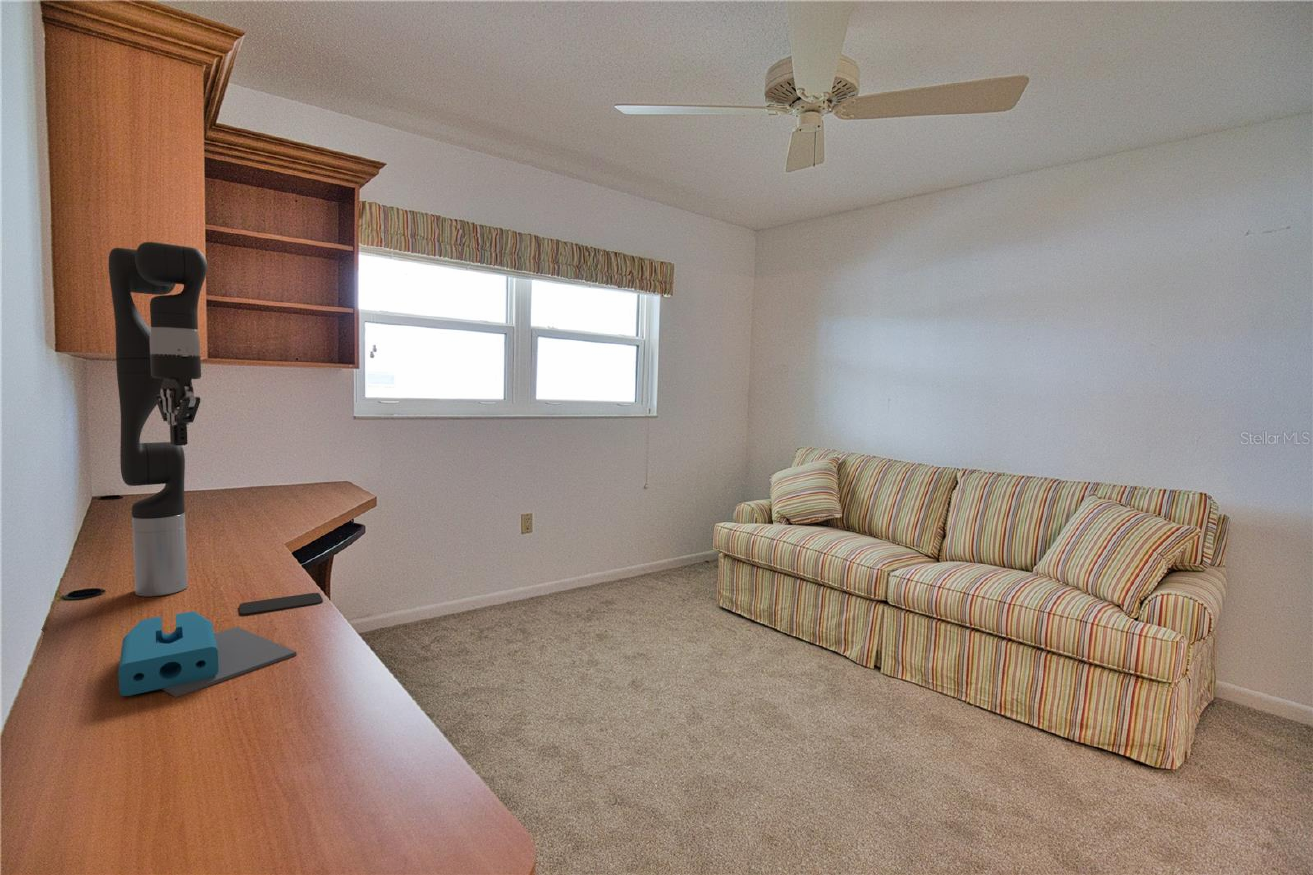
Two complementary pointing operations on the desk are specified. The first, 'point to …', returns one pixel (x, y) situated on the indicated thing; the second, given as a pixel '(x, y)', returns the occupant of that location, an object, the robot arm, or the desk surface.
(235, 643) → the mat
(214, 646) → the block
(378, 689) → the desk surface
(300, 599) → the phone
